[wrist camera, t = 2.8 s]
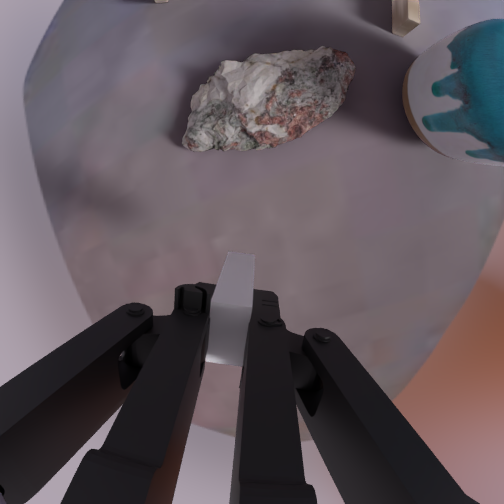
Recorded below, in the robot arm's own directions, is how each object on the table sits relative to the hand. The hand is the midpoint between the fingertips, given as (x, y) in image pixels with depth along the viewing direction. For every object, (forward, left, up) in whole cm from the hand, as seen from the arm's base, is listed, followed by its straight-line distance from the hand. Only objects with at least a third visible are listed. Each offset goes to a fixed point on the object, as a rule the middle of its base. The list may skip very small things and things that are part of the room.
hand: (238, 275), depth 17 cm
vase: (-15, +16, -11) cm, 25 cm away
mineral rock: (-12, 0, -11) cm, 16 cm away
